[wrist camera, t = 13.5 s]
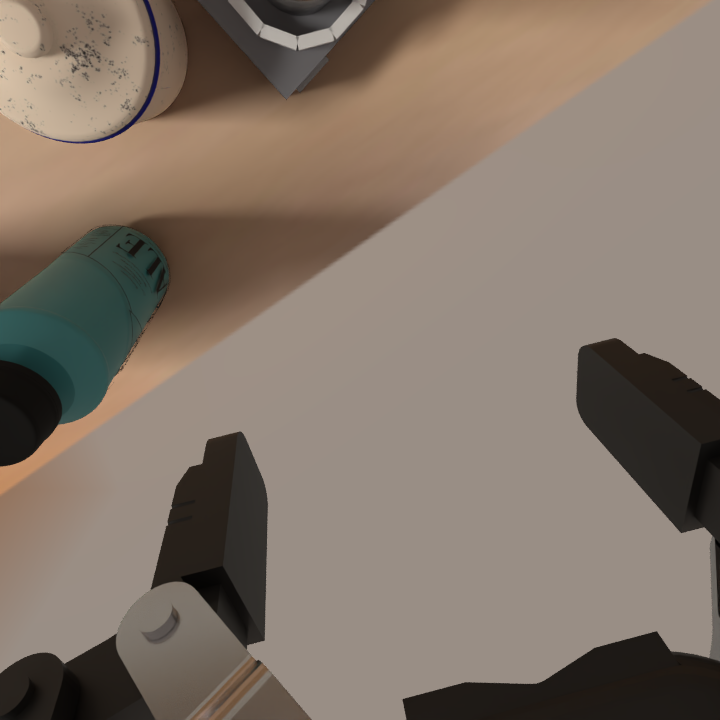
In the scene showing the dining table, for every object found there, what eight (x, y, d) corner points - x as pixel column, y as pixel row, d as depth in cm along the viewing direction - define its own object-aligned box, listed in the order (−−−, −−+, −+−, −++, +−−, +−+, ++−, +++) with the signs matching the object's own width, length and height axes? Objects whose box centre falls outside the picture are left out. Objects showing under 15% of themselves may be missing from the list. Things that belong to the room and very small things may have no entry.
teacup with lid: (140, -86, 26) (44, -181, 16) (219, 95, 31) (182, 107, 21) (-54, 0, 27) (-257, -39, 17) (51, 163, 32) (-60, 206, 22)
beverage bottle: (68, 271, 36) (-144, 458, 18) (106, 195, 33) (-97, 328, 16) (153, 316, 38) (36, 518, 21) (194, 249, 36) (99, 414, 19)
